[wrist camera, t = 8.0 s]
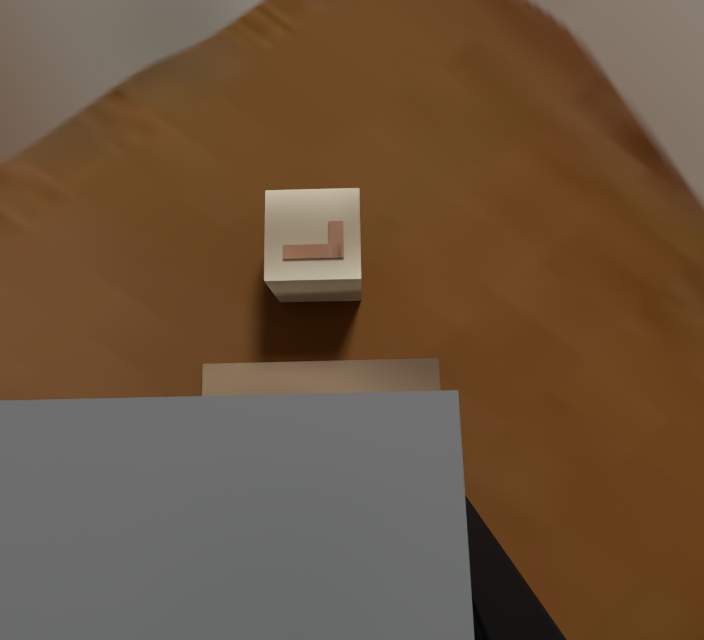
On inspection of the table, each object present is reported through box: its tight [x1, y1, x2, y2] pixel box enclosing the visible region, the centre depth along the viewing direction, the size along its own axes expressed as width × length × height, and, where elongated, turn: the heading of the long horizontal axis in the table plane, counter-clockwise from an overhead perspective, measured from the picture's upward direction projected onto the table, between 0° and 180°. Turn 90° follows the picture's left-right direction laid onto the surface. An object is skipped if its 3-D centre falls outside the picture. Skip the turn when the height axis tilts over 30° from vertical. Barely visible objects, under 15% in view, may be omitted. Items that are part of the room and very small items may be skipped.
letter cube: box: [264, 188, 361, 302], centre depth 22 cm, size 4×4×4 cm
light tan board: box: [202, 358, 440, 396], centre depth 21 cm, size 11×11×1 cm
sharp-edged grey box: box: [0, 390, 475, 640], centre depth 11 cm, size 6×6×10 cm
